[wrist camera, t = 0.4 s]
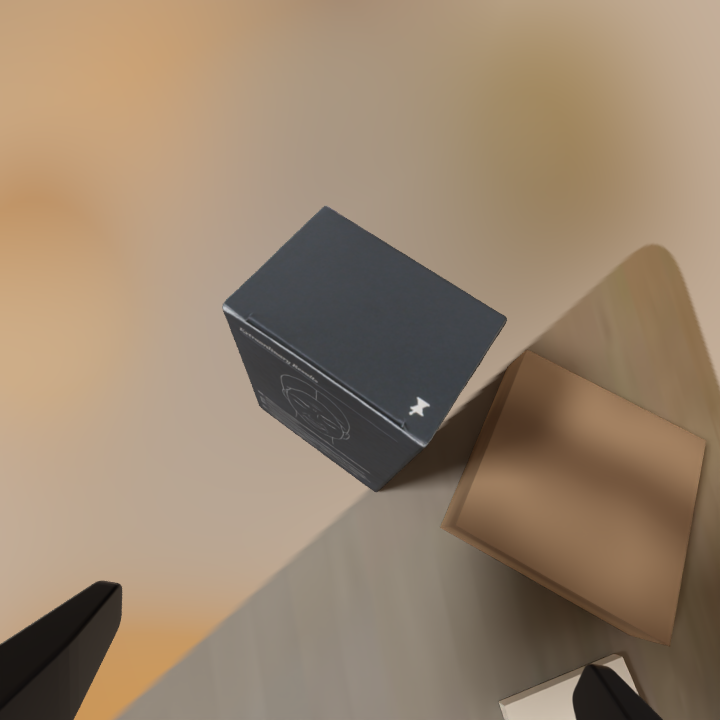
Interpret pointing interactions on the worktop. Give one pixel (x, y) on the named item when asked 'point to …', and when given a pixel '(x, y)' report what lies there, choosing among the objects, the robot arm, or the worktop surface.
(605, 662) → the card
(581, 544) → the walnut slab
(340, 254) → the box
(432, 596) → the worktop surface
